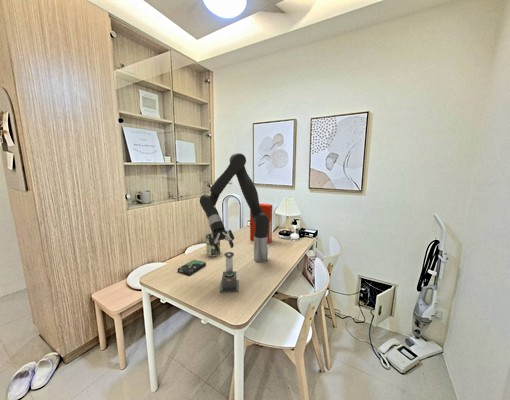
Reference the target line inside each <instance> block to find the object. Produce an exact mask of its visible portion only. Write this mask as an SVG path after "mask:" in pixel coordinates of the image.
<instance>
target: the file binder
mask: <svg viewBox="0 0 510 400" xmlns="http://www.w3.org/2000/svg"><path fill="white" fill-rule="evenodd" d="M259 204H260V207H261V209H262V211H263V213H264V214H265V215H266V216H267V217H268V219H269V231H268V236H267V244H270V243H271V242H272V240H273V204H271V203H270V204H269V203H259ZM249 219H250V221H249V241H251V242H254V232H255V227H256V224H255V223H254V221H253V217H252V214H251V210H250V209H249Z"/></svg>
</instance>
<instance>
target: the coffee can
mask: <svg viewBox="0 0 510 400" xmlns="http://www.w3.org/2000/svg"><path fill="white" fill-rule="evenodd" d="M209 234H213V233H212V232H210V233H207V234H206V235H205V241H206V242H205V243H206V244H205V245H206V250H205V251H206V256H208V257H217V256H220V255H221V240H220V241H219V240H218V241H217V243H216V244H217V245H218V247H219V251H218V252H217V251H216V250H215V247H214V246H213V245H210V244H209V240H208V235H209ZM212 240H213V242H214V241H215V238H214V237H213V236H212Z"/></svg>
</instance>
